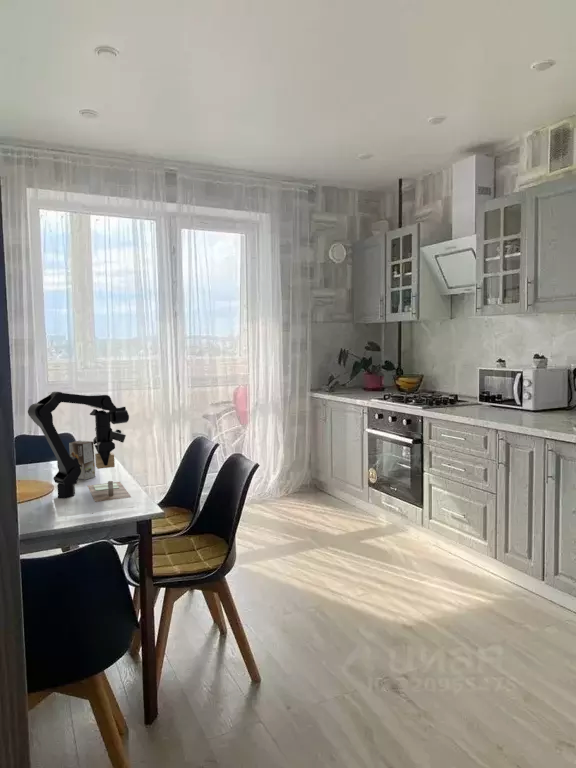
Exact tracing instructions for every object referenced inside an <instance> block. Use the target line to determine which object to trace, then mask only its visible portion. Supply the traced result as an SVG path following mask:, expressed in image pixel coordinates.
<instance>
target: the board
mask: <svg viewBox="0 0 576 768" xmlns="http://www.w3.org/2000/svg"><path fill="white" fill-rule="evenodd" d="M87 488H88V489H89V492H90V494H91V496H92V498H93V500H94V503H98V502H107V501H113V500H120V499H121V500H122V499H128V498H129V499H130V498H132V496H131V494H130V493H129V491H128V490H127V488H126V487H125V486H124V485H123V484H122V483H121V481H116V482H114V481H113V480H109V481H107V482H106V483H98V484H90V485H89V484H88V485H87Z"/></svg>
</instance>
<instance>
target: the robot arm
mask: <svg viewBox="0 0 576 768" xmlns="http://www.w3.org/2000/svg"><path fill="white" fill-rule="evenodd" d="M61 403H66V404H77V405H85V406H88V407H91V408H94V409H93V410H92V411H91V412H90V413H89V415H90V416H94V418H95V419H94V421H95V428H94V431H95V437H94V438H93V439H92V440H93V441H92V442H93V446H94V449H96V452H97V454H98V453H99V454H100V456H101V459H102V461H103V463H104V465H105V466H107V465H108V460H109V455H110V452H112V451H114V450H115V449H116V444H115V442H113V441H118V442H120V443H124V442H125V440H126V436H127V435H126V434H125V433H122V430H121V429H119V428H117V429H116V430H113V428H111V424H112V425H118V424H119V425H120V424H126V423H128V422H129V419H130V414H129V412H128V410H127V409H126V406H119V407H117V406H116V405H115V404H114V403H113V400H112V398H111V396H110V395H108V394H99V393H98V394H89V395H87V394H77V393H76V394H75V393H67V392H61V391H52V392H51V393H50V394H49V395H47V396H45V397H44V398H42V399H40V400H38V402H36V403H32V404H31V405H30V406H28V410H27V414H28V416H29V417H30V419H31V420H32V422H34V423H35V424H36V426H38V427H39V428H40V430H41V432H42V434H43V435H44V438H45V440H46V441H47V443H48V445H49V447H50V449H51V450H52V451H51V452H53V454H54V456H55V459H56V461H57V464H56V465H57V469H58V471H57V473H56V474H55V475H54V476H53V482H54V483H56V484H57V499H68V498H72V497H74V496H75V495H76V486H75V484H77V483H78V480H79V479H78V477H79V476H80V474H81V468H80V467H82V466H81V465H80V464H79V462H78V459H77V458H76V457H72V456H70V453H69V451H68V450H67V449H66V446H65V444H64V443H63V441H62V439H61V437H60V435H59V432H58V431H57V429H56V427H55V425H54V422H53V421H54V418H53V417H54V416H53V414H52V412H54V411H55V410H56V409H57V407H58V406H59V405H60V404H61ZM98 409H99V410H98Z"/></svg>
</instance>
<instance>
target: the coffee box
mask: <svg viewBox="0 0 576 768" xmlns="http://www.w3.org/2000/svg"><path fill="white" fill-rule="evenodd" d="M68 450H69V456H72V457H76V458H77V459H78V462H79V464H80V465H81V466H82V467H80V468H81V474H80V476H79V477H78V480H84V481H85V480H89V479H92V478H95V477H96V462H95V446H94V443H93V441H92V440H91V441H88V440H75V441H72V442H69V444H68Z"/></svg>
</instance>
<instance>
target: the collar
mask: <svg viewBox="0 0 576 768" xmlns="http://www.w3.org/2000/svg"><path fill="white" fill-rule="evenodd" d="M94 461H95V468H97V469H98V470H99V469H109V468H115V464H116V463H115V454H114V453H113V452H112V451H111V452H110V455H109V460H108V465H107V466H105V465H104V463H103V461H102V459H101V456H100V454H99V453H98V452H97V453H94Z"/></svg>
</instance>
